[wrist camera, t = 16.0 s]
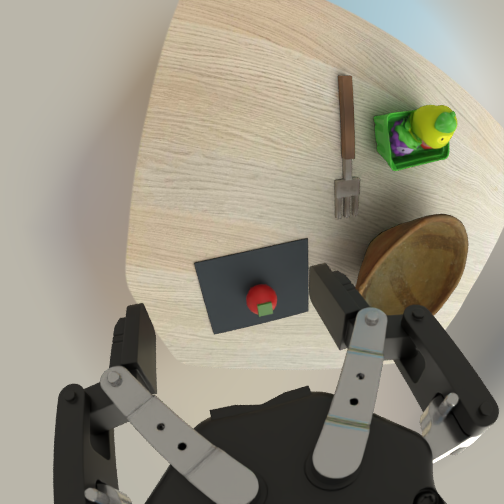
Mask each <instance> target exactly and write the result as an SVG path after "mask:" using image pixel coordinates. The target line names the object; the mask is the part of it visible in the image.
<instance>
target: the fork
mask: <svg viewBox="0 0 504 504" xmlns="http://www.w3.org/2000/svg"><path fill="white" fill-rule="evenodd" d="M338 84H339V99H340V118H341V146H342V158H343V179H340V180H335V218H336V219H341V204H342V197H344V216H345V217H346V218H348V217H350V196H353V206H352V214H353V215H354V216H358V206H359V194H360V178H358V177H354V178H352V159H355V130H354V103H353V85H352V76H338Z"/></svg>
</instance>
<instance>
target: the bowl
mask: <svg viewBox="0 0 504 504" xmlns="http://www.w3.org/2000/svg"><path fill="white" fill-rule="evenodd" d="M467 253H468V236H467V233H466V230H465V227H464V225H463V224H462V222H461V221H460V220H458V219H457V218H455V217H453V216H451V215H447V214H434V215H429V216H425V217H422V218H418V219H415V220H412V221H410V222H406V223H403V224H400V225H397V226H395V227H392V228H390V229H388V230H386V231H384V232H382V233H381V234H379V235H378V236H377V237H376V238H375V239H374V240H373V241H372V242H371V243H370V244H369V246H368V248H367V251H366V254H365V257H364V260H363V262H362V265H361V268H360V271H359V274H358V279H357V283H356V287H355V289H357V290H358V292H359V293H360V294H361V295H362V297H363V298H364V299H365V300H366V302H367V303H368V304H369V306H370V307H373V308H377V309H380V310H382V311H383V312H384V313H385V314H386V315H400V314H403V313H404V310H405V308H406V307H408V306H410V305H421V306H424V307H426V308H427V309H428V310H429V311H430V312H431V313H432V315H433V316H434V315H435V314H436V313H437V312H438V311H439V310H440V309H441V308H442V306H443V305H444V303H445V302H446V301H447V299H448V298H449V297H450V295H451V294H452V292H453V291H454V290H455V288H456V287H457V285H458V283H459V281H460V279H461V277H462V274H463V271H464V269H465V264H466V259H467Z"/></svg>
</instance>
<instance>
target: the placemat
mask: <svg viewBox="0 0 504 504" xmlns="http://www.w3.org/2000/svg"><path fill="white" fill-rule="evenodd" d="M194 264H195V268H196V272H197V276H198V279H199V283H200V287H201V291H202V294H203V298H204V301H205V305H206V308H207V312H208V315H209V319H210V322H211V326H212V329H213V333H214V334H219V333H223V332H228V331H232V330H236V329H241V328H245V327H249V326H253V325H257V324H262V323H266V322H270V321H274V320H277V319H281V318H285V317H289V316H293V315H296V314H300V313H304V312H307V311H308V238H306V239H301V240H297V241H292V242H288V243H283V244H278V245H274V246H269V247H265V248H260V249H256V250H251V251H246V252H242V253H237V254H233V255H228V256H223V257H219V258H214V259H210V260H205V261H201V262H196V263H194ZM259 284H264V285H265V284H266V285H268V286H270V287H271V288H272V289H273V290H274V291H275V293H276V295H277V304H276V307H275V308H274V310H273V314H269V315H264V316H260V317H259V315H258V314H255V313H253V312H252V311H251V310H250V309H249V308H248V306H247V303H246V297H247V294H248V292H249V290H250V288H251V287H254V286H256V285H259Z"/></svg>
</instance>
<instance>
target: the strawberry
mask: <svg viewBox="0 0 504 504" xmlns="http://www.w3.org/2000/svg"><path fill="white" fill-rule="evenodd" d="M246 303H247V306H248V308H249V309H250V310H251V311H252V312H253V313H255V314H258V315H259V317H260V316H264V315H269V314H273V310H274V308H275V307H276V304H277V295H276V293H275V291H274V290H273V289H272V288H271V287H270V286H268V285H266V284H265V285H264V284H259V285H256V286H254V287H251V288H250V290H249V292H248V294H247V297H246Z"/></svg>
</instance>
